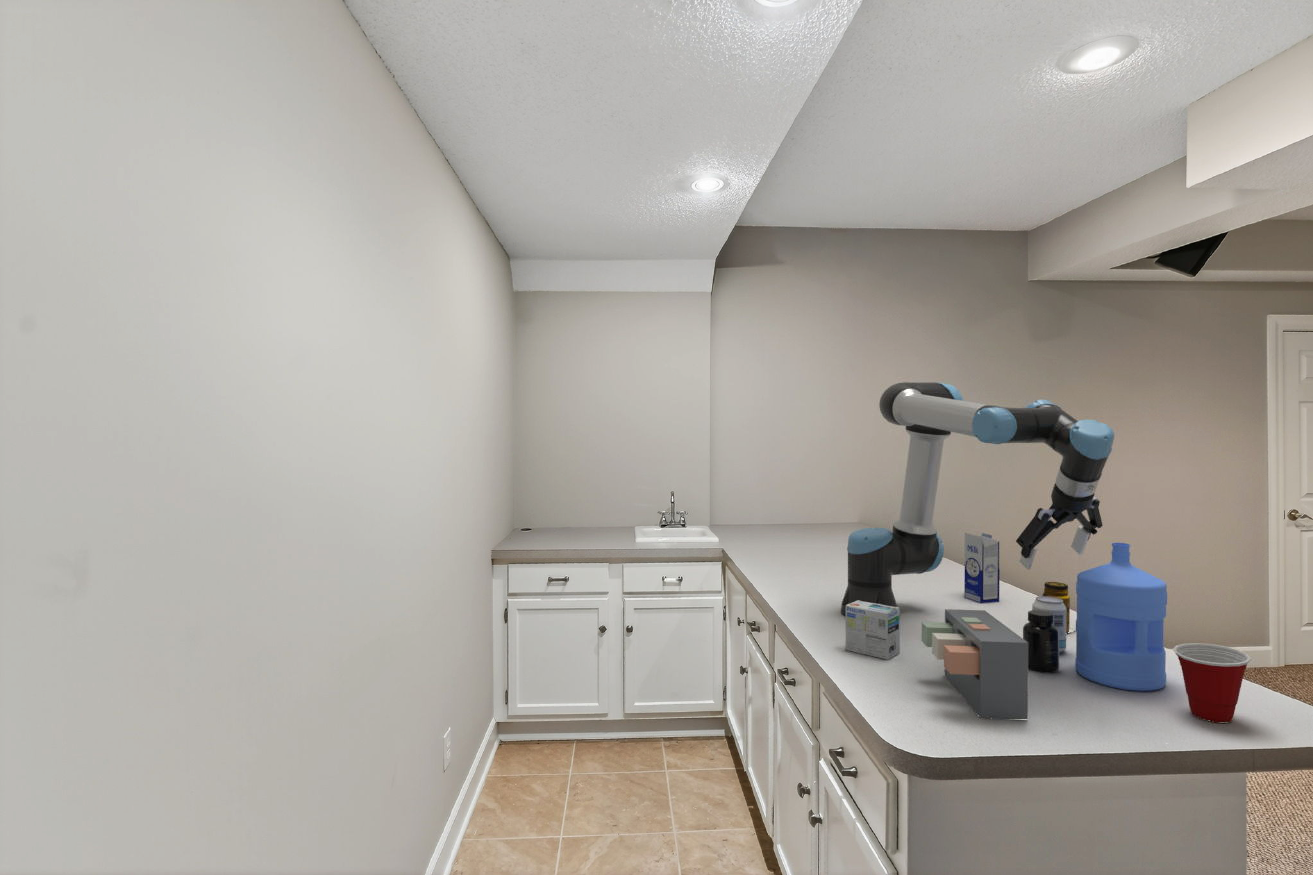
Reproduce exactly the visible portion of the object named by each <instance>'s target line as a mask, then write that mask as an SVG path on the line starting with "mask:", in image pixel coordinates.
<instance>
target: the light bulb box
mask: <svg viewBox="0 0 1313 875" xmlns="http://www.w3.org/2000/svg"><path fill="white" fill-rule="evenodd" d="M900 610H901V609H900V607H892V606H886V605H881V604H875V603H869V602H863V601H859V600H857V601H855V602H852V603H850V604H847V605H846V616H845V651H849V652H855V653H858V654H861V653H862V654H863V655H866V654H867V655H866V656H871V657H874V658H879V659H883V660H887V661H888V660H890V659H892V658H894V657H895V656H897V655H898V654H900V653H901V640H900V639H901V631H900V630H901V628H900V620H901V619H900V616H901V615H900V614H901V613H900V612H901V611H900ZM862 654H861V655H862Z"/></svg>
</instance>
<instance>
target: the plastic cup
mask: <svg viewBox="0 0 1313 875" xmlns="http://www.w3.org/2000/svg"><path fill="white" fill-rule="evenodd" d="M1172 649H1173V651H1174V653H1175V655H1176V656H1177V659H1178V661H1179V665H1180V667H1181V673H1182V676H1183V677H1182V678H1183V682H1184V688H1185V693H1186V695H1187V699H1188V707H1189V710H1190V713H1191V712H1192V713H1191V715H1192V714H1193V715H1192V716H1194V715H1195V716H1196V718H1197V717H1199V718H1198V719H1200V718H1201V719H1200V720H1202V719H1205V720H1204V721H1206V720H1210V721H1214V722H1213V723H1215V722H1230V721H1231V720H1232V721H1233V718H1234V715H1235V712H1236V708H1237V707H1236V706H1237V704H1238V702H1239V697H1240V692H1241V687H1242V684H1243V680H1244V676H1245V672H1246V670H1247V666H1248V664H1249V663H1250V661H1251V660H1252V658H1251V657H1250V656H1249V654H1248V653H1246V652H1244V651H1242V650H1239V649H1236V648H1232V647H1229V646H1226V645H1220V644H1219V645H1218V644H1214V643H1213V644H1212V643H1200V642H1195V643H1194V642H1190V643H1188V642H1187V643H1182V644H1177V645H1175V646H1174V647H1173V648H1172ZM1195 716H1194V717H1195ZM1232 721H1231V722H1232ZM1231 722H1230V723H1231Z"/></svg>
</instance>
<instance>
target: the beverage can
mask: <svg viewBox="0 0 1313 875" xmlns="http://www.w3.org/2000/svg"><path fill="white" fill-rule="evenodd" d="M1031 609H1032V610H1039V611H1046V612H1050V613H1052V614H1053V620H1054V623H1053V624H1052V625H1053V626H1055V627H1056V628H1057V629H1058V631H1059V654H1061V653H1062V652H1063V651H1066V650H1067V634H1066V610H1067V609H1066V607H1065V605H1064V603H1063V600H1062V599H1059V598H1055V597H1048V596H1043V595H1042V596H1040V595H1039V596H1036V597H1035V600H1034V602H1032V607H1031Z"/></svg>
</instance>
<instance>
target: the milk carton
mask: <svg viewBox="0 0 1313 875" xmlns="http://www.w3.org/2000/svg"><path fill="white" fill-rule="evenodd" d="M1000 543H1001V541H1000V540H997V539H993V535H992V534H988V533H985V532H982V533H981V535H977V534H973V533H964V584H963V585H964V591H963V592H964V596H963V597H964V599H967V600H970V601H972V602H975V603H979V604H987V603H988V604H989V603H999V602H1000V576H1001V575H1000V574H1001V572H1000V571H1001V570H1000V561H1001V560H1000V558H1001V556H1000V555H1001V554H1000V553H1001V550H1000V549H1001V544H1000Z"/></svg>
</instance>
